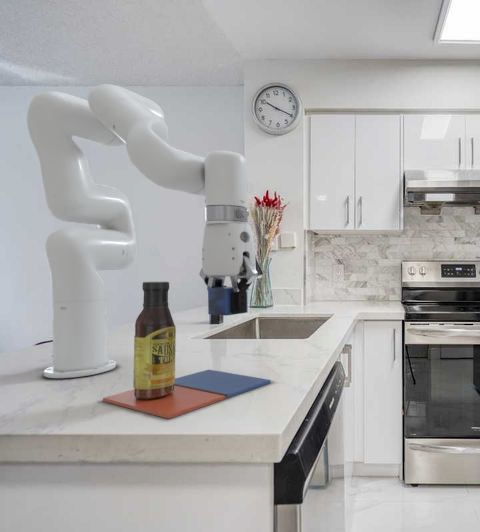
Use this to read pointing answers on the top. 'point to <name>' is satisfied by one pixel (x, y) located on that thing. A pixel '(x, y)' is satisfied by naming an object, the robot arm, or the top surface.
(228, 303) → the blue block
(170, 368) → the sauce bottle
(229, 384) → the sorting board
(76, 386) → the top surface
